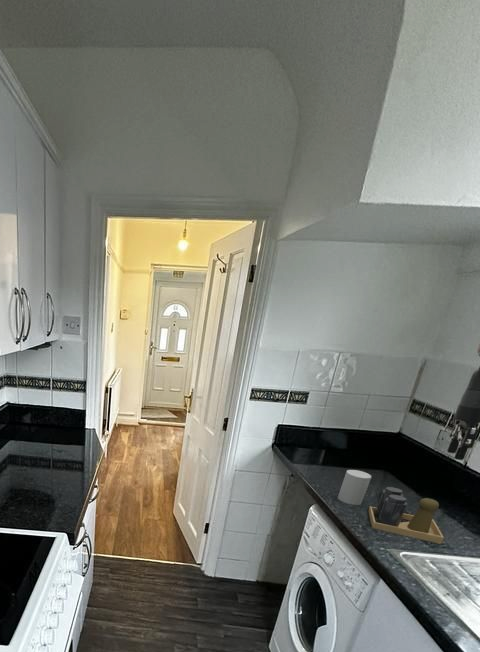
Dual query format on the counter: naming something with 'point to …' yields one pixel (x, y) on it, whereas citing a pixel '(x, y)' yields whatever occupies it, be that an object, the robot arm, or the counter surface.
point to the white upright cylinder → (354, 487)
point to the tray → (402, 529)
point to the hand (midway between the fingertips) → (454, 455)
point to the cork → (423, 515)
